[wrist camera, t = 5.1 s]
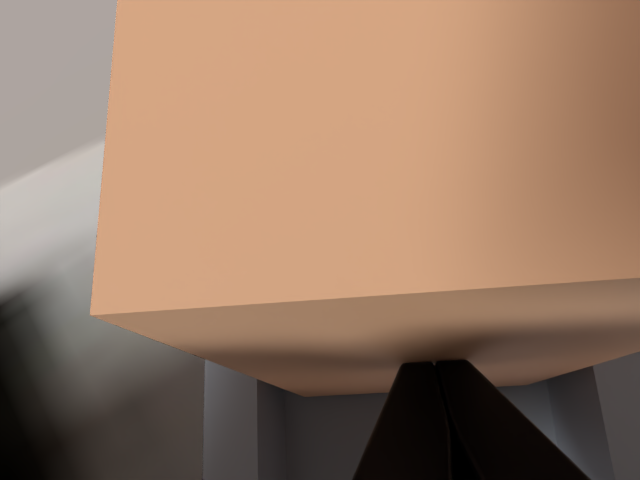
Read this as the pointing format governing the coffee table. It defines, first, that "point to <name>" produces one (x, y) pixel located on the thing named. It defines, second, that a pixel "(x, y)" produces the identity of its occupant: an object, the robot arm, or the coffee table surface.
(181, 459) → the coffee table surface
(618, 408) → the charcoal chute
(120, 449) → the coffee table surface
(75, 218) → the coffee table surface
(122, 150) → the terracotta block
